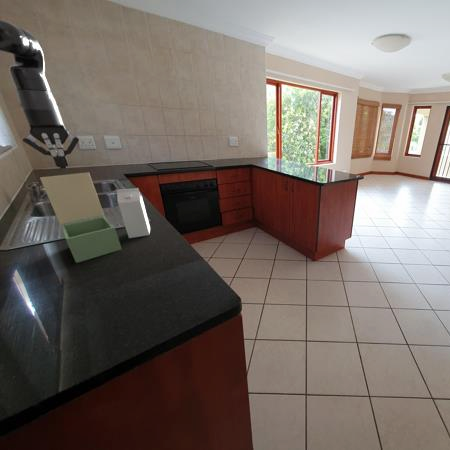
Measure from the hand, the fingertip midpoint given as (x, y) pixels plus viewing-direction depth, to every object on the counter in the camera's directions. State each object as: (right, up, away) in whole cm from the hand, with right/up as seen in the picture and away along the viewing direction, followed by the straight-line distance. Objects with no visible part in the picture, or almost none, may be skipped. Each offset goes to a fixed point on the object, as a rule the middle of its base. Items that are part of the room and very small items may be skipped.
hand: (63, 168), depth 76 cm
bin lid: (-4, -9, +8) cm, 13 cm away
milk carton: (+10, -22, +22) cm, 33 cm away
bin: (+1, -27, +10) cm, 29 cm away
